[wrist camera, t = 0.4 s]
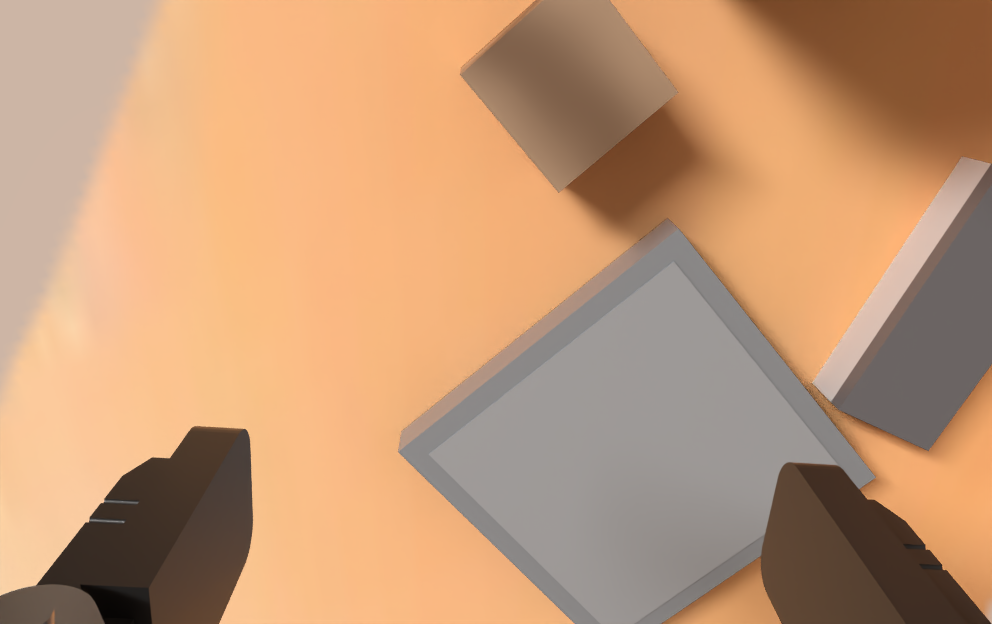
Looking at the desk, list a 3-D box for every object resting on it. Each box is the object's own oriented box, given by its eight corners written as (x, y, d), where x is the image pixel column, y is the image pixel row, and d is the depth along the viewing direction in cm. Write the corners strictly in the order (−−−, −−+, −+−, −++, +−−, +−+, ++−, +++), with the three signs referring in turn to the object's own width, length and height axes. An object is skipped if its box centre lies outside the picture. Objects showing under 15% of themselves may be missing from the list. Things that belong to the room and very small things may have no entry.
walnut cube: (563, -26, 32) (582, -36, 27) (645, 82, 34) (678, 92, 28) (461, 67, 33) (460, 74, 28) (544, 168, 35) (558, 192, 30)
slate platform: (667, 218, 36) (679, 229, 34) (856, 456, 40) (877, 478, 38) (401, 431, 39) (397, 452, 37) (604, 630, 43) (610, 659, 41)
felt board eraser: (957, 155, 35) (1003, 167, 32) (1045, 202, 36) (1098, 218, 33) (809, 380, 39) (838, 409, 36) (892, 418, 40) (928, 450, 37)
